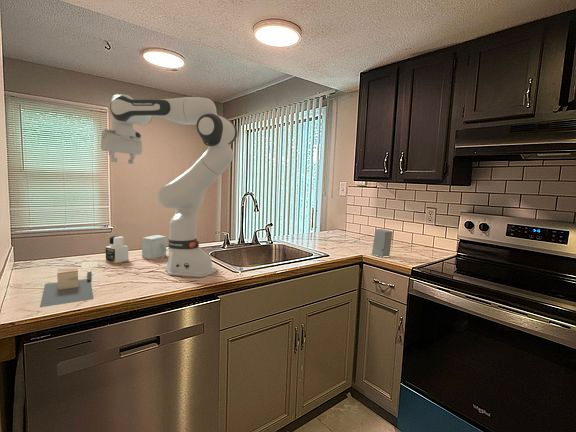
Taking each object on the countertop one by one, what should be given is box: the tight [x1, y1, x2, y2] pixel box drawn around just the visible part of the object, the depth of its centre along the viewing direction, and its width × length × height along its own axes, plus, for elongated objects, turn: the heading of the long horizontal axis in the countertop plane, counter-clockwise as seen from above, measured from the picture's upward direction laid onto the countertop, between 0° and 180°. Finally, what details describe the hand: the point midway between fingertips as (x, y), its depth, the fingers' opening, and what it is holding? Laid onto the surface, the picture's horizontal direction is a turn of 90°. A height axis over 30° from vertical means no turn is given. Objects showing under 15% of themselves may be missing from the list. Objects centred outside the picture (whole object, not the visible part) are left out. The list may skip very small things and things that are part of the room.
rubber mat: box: [39, 278, 95, 308], centre depth 109 cm, size 24×14×1 cm, turn 35°
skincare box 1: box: [141, 234, 167, 260], centre depth 161 cm, size 10×6×10 cm, turn 156°
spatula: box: [80, 261, 99, 282], centre depth 131 cm, size 6×29×2 cm, turn 32°
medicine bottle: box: [105, 235, 129, 264], centre depth 150 cm, size 7×7×12 cm
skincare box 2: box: [371, 228, 394, 258], centre depth 184 cm, size 8×7×16 cm
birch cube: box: [56, 266, 79, 290], centre depth 113 cm, size 6×6×6 cm
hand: (122, 163), depth 143 cm, fingers open, 8 cm apart
